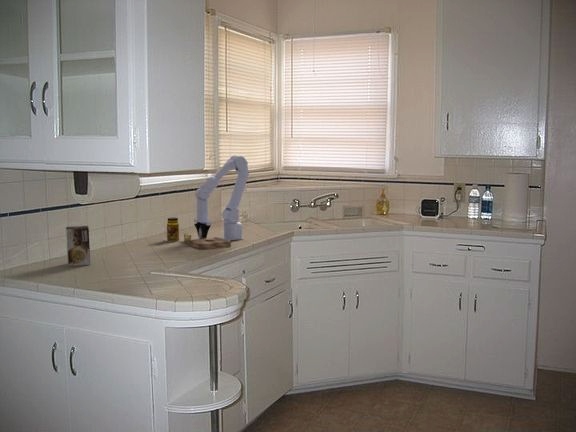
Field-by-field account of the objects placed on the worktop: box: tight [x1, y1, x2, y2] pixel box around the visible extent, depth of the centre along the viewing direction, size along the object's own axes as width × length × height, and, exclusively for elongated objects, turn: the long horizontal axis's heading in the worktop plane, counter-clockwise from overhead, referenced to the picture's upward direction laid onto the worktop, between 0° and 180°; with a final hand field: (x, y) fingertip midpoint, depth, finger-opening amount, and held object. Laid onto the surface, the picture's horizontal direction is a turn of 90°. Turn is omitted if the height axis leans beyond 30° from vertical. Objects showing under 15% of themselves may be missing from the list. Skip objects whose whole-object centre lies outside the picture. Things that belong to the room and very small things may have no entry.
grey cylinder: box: [198, 228, 204, 239], centre depth 334 cm, size 4×4×7 cm
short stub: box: [183, 233, 192, 243], centre depth 332 cm, size 4×4×4 cm
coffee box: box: [65, 225, 91, 267], centre depth 275 cm, size 9×6×16 cm
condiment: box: [163, 216, 182, 243], centre depth 334 cm, size 7×8×12 cm
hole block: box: [188, 236, 232, 250], centre depth 322 cm, size 16×14×2 cm
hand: (202, 237), depth 334 cm, fingers closed on grey cylinder, 4 cm apart
